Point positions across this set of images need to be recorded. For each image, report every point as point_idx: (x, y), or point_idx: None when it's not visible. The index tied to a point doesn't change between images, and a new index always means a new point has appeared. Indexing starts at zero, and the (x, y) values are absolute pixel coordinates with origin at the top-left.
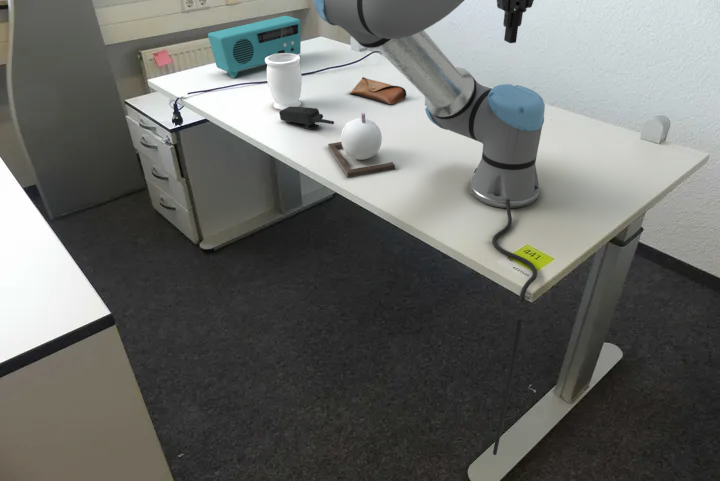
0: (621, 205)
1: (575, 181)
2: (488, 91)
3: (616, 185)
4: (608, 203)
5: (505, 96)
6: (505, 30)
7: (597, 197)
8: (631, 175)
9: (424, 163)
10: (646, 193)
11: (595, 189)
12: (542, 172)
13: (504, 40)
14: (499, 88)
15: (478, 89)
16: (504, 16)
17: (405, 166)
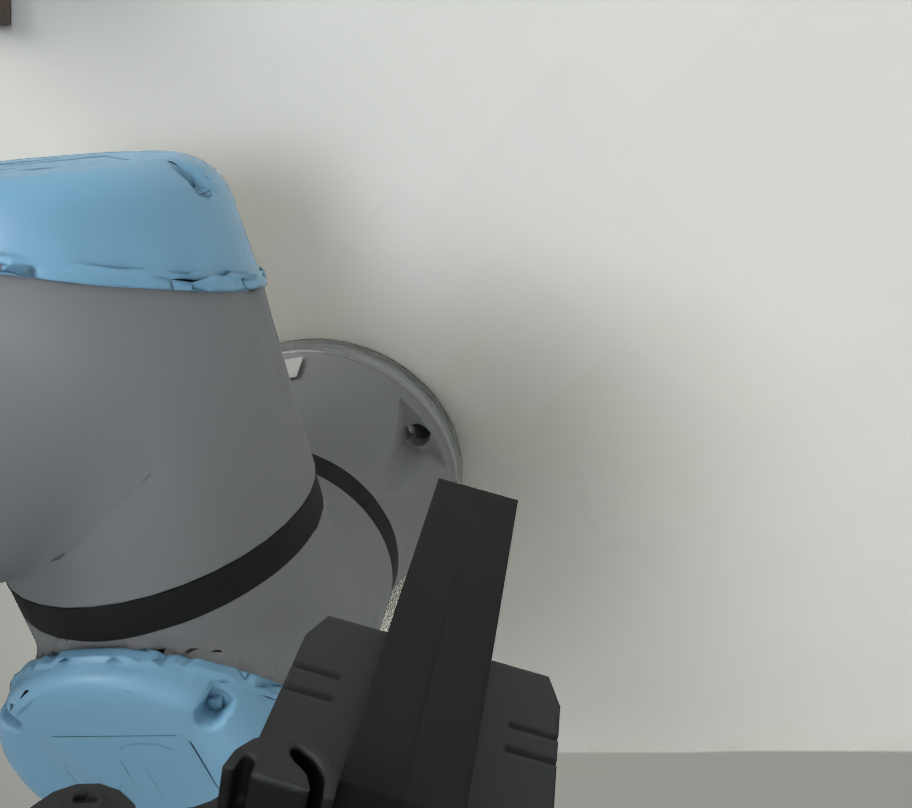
0: (606, 720)
1: (626, 563)
2: (70, 621)
3: (721, 658)
4: (583, 694)
5: (69, 766)
6: (414, 553)
7: (588, 659)
8: (844, 656)
9: (170, 63)
10: (748, 734)
11: (632, 631)
12: (581, 450)
13: (438, 484)
14: (78, 712)
15: (21, 572)
16: (262, 730)
17: (70, 32)
